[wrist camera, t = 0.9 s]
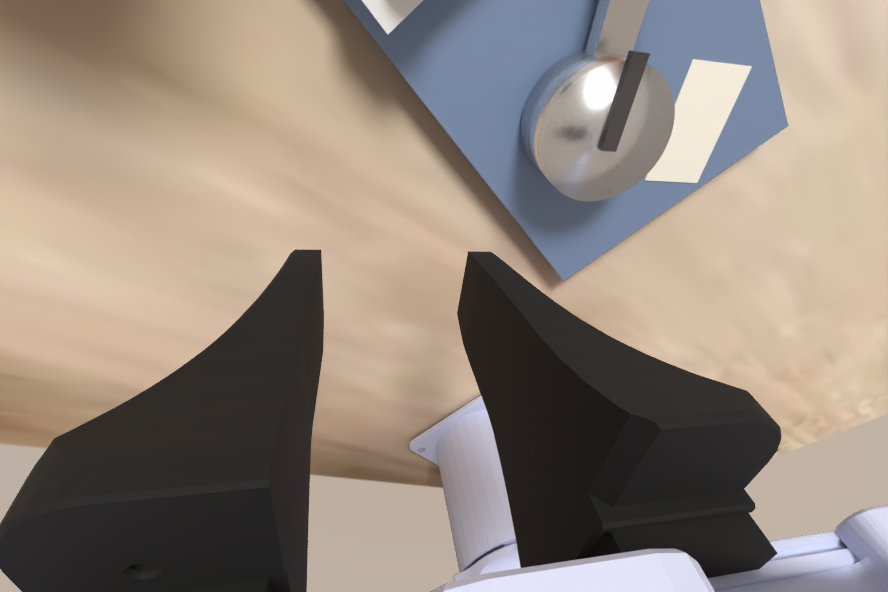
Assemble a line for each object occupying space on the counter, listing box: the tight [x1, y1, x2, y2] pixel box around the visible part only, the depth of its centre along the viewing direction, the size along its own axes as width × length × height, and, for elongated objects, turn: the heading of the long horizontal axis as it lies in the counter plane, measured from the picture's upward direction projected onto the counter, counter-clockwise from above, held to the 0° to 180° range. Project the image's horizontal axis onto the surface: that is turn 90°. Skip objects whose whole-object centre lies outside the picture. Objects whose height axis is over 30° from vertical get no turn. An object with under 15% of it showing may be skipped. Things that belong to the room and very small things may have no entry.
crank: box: [521, 0, 675, 201], centre depth 15 cm, size 9×5×4 cm, turn 174°
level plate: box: [343, 0, 788, 281], centre depth 16 cm, size 18×12×4 cm, turn 39°
